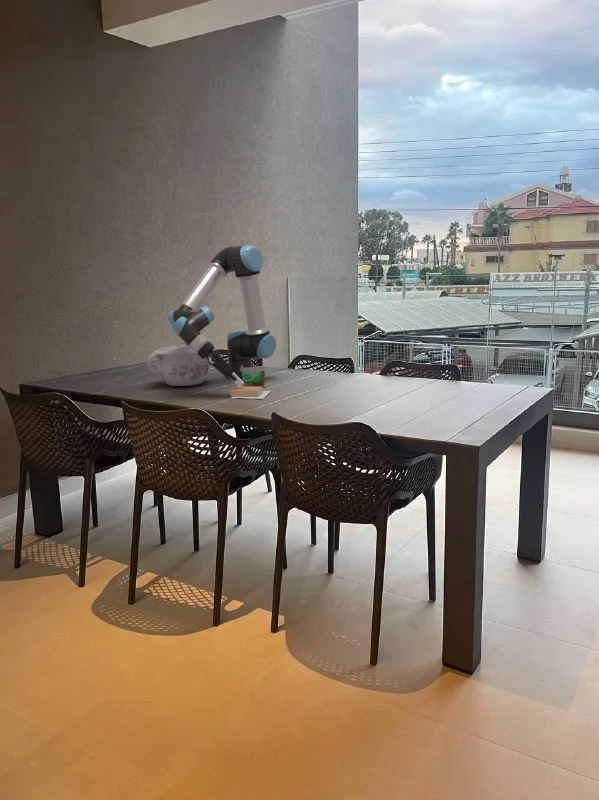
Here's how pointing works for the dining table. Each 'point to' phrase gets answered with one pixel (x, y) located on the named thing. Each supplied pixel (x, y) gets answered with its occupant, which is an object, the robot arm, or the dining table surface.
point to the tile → (246, 391)
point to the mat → (256, 397)
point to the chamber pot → (179, 365)
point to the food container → (253, 376)
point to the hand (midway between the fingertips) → (241, 385)
